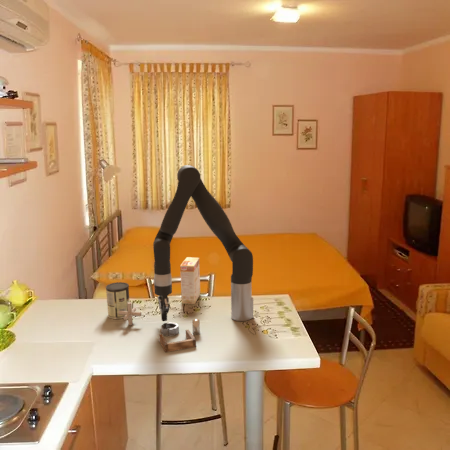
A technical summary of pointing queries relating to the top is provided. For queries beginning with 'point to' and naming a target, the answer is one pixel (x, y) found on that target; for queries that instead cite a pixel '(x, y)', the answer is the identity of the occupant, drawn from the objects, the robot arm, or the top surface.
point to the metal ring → (170, 329)
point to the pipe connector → (129, 313)
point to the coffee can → (117, 299)
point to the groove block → (178, 343)
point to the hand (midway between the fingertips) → (164, 320)
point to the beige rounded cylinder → (196, 326)
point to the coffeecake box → (190, 280)
